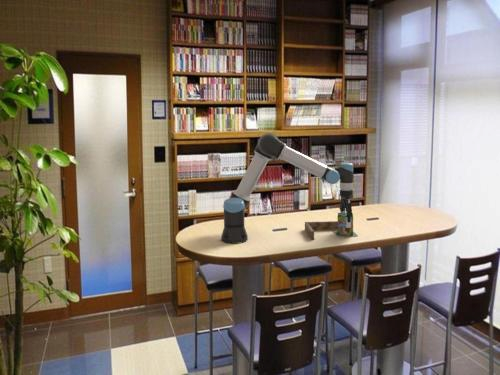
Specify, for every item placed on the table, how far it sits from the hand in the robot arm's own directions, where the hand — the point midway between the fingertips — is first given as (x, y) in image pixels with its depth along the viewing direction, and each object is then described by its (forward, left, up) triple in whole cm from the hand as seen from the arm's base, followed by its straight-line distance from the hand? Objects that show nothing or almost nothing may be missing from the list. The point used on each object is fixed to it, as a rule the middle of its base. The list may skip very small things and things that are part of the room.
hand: (345, 224), depth 273 cm
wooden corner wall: (-8, 0, -6) cm, 10 cm away
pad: (0, 0, -6) cm, 6 cm away
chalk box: (0, 0, -5) cm, 5 cm away
